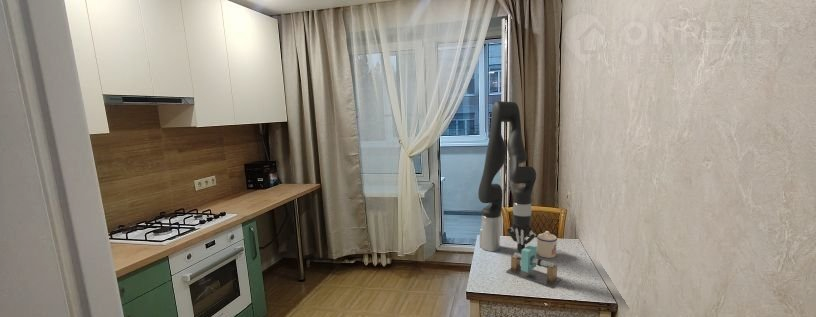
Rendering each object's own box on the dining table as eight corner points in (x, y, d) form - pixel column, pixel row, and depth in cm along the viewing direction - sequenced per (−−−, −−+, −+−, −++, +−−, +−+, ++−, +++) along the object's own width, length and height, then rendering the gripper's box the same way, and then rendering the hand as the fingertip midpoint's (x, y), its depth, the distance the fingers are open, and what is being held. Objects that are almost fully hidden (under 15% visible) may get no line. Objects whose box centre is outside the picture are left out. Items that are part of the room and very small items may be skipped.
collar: (521, 270, 152) (521, 249, 151) (529, 264, 158) (530, 244, 157) (527, 272, 150) (528, 251, 149) (536, 266, 156) (536, 246, 155)
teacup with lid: (556, 259, 169) (557, 235, 167) (535, 256, 173) (536, 233, 171) (556, 250, 180) (557, 227, 178) (537, 247, 184) (538, 225, 182)
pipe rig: (506, 272, 157) (506, 254, 156) (516, 265, 163) (516, 248, 162) (551, 288, 143) (552, 267, 142) (561, 280, 149) (561, 260, 148)
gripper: (503, 211, 155) (502, 250, 158) (532, 218, 146) (531, 258, 148) (512, 208, 160) (511, 245, 163) (541, 213, 151) (539, 253, 154)
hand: (521, 251), depth 156 cm, fingers closed
